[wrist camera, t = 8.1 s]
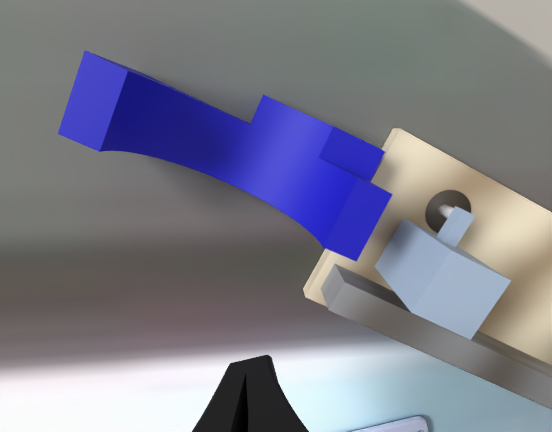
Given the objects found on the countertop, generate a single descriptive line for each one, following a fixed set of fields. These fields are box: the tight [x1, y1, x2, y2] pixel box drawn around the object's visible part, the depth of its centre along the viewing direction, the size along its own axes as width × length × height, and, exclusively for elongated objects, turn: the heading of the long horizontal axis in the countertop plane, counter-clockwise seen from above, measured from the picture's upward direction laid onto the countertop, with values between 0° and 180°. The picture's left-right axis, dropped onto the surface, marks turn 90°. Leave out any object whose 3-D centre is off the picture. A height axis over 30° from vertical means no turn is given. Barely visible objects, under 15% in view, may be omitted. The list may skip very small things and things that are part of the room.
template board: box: [303, 128, 552, 409], centre depth 20 cm, size 22×10×6 cm, turn 63°
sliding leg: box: [374, 204, 511, 340], centre depth 18 cm, size 3×5×5 cm, turn 153°
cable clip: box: [58, 51, 393, 262], centre depth 17 cm, size 12×4×6 cm, turn 65°
